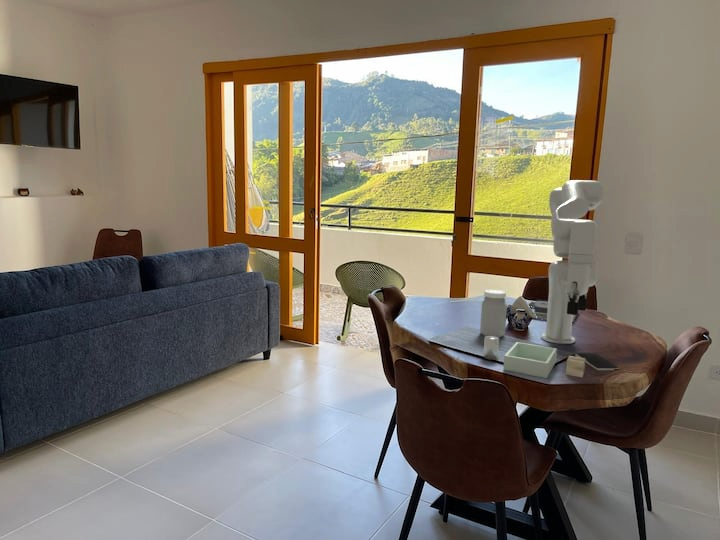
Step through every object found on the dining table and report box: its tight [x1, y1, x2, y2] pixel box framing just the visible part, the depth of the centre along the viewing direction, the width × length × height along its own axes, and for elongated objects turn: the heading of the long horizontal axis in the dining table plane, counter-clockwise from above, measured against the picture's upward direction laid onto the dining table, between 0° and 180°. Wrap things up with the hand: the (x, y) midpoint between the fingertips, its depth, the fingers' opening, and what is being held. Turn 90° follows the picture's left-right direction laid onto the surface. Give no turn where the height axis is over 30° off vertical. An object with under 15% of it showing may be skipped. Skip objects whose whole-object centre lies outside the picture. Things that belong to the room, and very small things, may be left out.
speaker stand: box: [527, 301, 580, 323], centre depth 246 cm, size 23×23×3 cm
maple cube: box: [565, 355, 586, 378], centre depth 170 cm, size 5×5×5 cm
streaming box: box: [533, 300, 548, 314], centre depth 247 cm, size 14×14×5 cm
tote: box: [503, 341, 558, 379], centre depth 176 cm, size 18×14×5 cm
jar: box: [479, 288, 508, 339], centre depth 210 cm, size 10×10×18 cm
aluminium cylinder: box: [482, 336, 500, 360], centre depth 184 cm, size 5×5×7 cm
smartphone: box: [575, 352, 620, 371], centre depth 182 cm, size 8×1×15 cm
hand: (576, 312), depth 168 cm, fingers open, 9 cm apart
